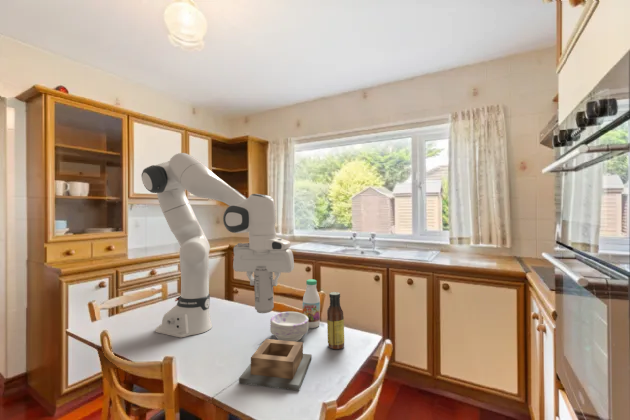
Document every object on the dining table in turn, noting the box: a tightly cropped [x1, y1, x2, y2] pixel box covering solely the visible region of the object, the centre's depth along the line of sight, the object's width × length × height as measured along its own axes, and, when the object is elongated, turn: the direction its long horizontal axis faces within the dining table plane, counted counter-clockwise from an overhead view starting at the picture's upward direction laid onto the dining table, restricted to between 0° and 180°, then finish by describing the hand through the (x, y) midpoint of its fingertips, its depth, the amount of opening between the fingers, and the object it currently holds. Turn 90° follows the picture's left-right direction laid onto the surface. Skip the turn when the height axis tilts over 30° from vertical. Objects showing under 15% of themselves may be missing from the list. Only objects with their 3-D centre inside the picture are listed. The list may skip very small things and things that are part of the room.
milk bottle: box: [301, 278, 321, 329], centre depth 128 cm, size 8×8×20 cm
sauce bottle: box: [326, 291, 345, 350], centre depth 108 cm, size 6×6×20 cm
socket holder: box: [238, 338, 313, 392], centre depth 91 cm, size 18×18×6 cm
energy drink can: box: [253, 266, 275, 314], centre depth 95 cm, size 6×6×15 cm
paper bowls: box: [269, 311, 309, 342], centre depth 115 cm, size 15×15×8 cm
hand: (263, 285), depth 94 cm, fingers closed on energy drink can, 6 cm apart
